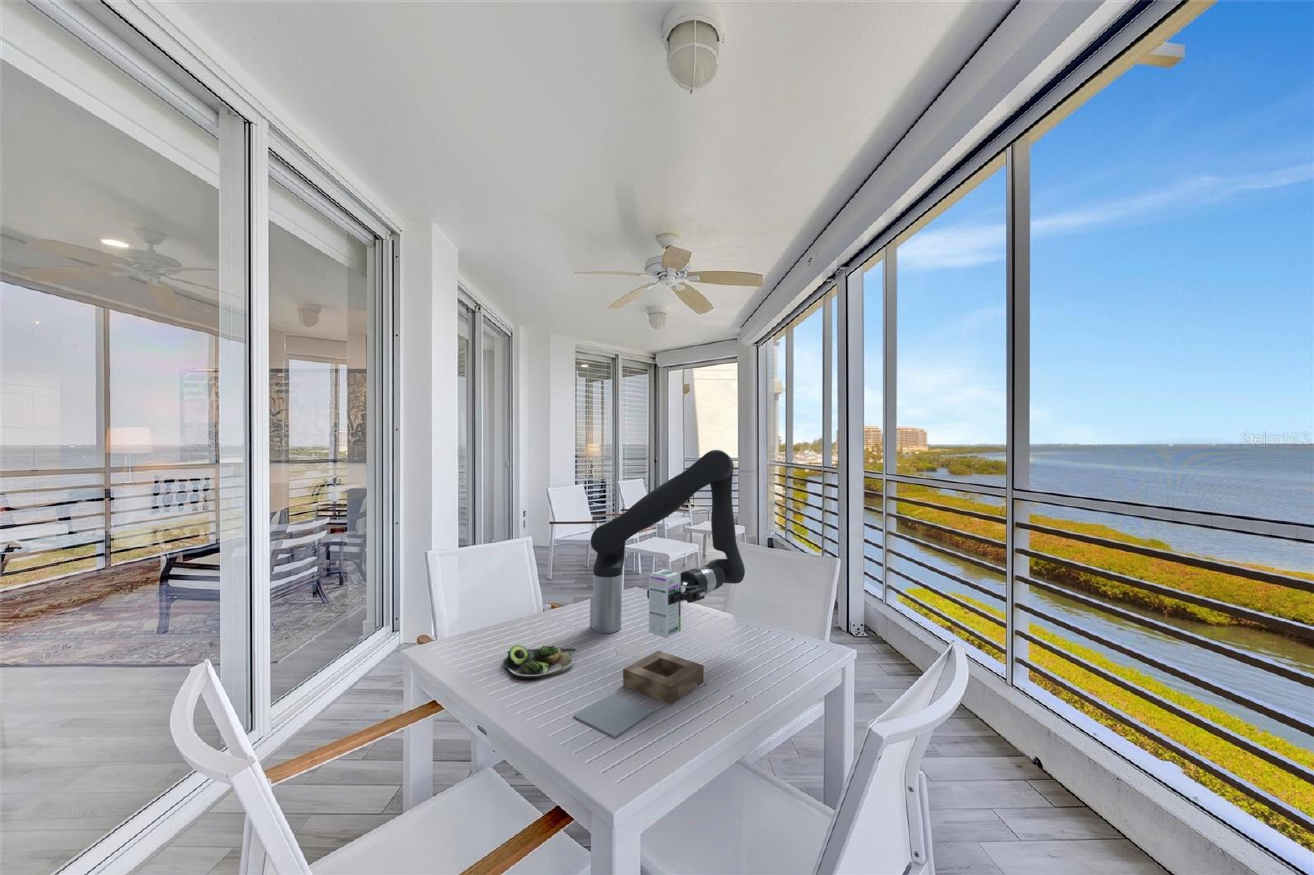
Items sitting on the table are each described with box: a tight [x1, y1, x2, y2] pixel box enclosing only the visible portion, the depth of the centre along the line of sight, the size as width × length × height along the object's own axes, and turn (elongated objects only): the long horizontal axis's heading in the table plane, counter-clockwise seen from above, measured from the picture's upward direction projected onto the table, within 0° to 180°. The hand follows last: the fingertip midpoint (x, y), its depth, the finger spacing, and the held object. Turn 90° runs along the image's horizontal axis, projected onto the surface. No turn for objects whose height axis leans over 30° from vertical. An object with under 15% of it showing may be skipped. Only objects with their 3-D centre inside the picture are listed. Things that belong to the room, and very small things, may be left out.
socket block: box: [622, 650, 705, 705], centre depth 116 cm, size 14×14×4 cm
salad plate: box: [502, 644, 577, 682], centre depth 127 cm, size 19×18×5 cm
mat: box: [572, 693, 654, 740], centre depth 102 cm, size 12×12×1 cm
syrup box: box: [648, 568, 682, 639], centre depth 117 cm, size 6×6×14 cm
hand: (659, 597), depth 115 cm, fingers closed on syrup box, 6 cm apart
